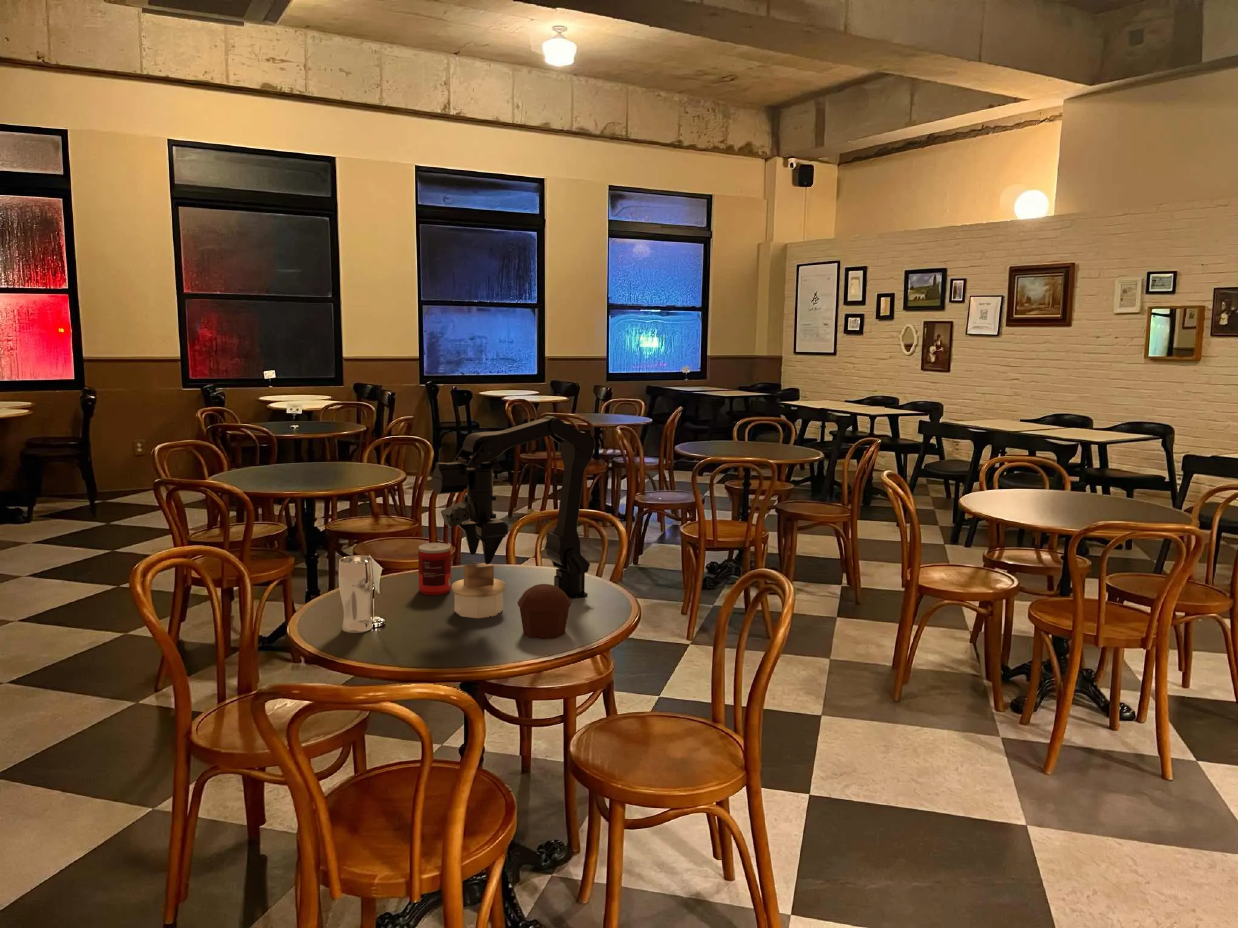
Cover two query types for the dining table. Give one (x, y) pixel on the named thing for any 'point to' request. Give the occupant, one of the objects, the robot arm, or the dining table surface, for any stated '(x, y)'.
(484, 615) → the hollow octagonal cup
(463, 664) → the dining table surface
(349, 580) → the beer glass
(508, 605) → the dining table surface
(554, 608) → the muffin
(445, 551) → the canned food
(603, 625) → the dining table surface
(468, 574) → the lid
